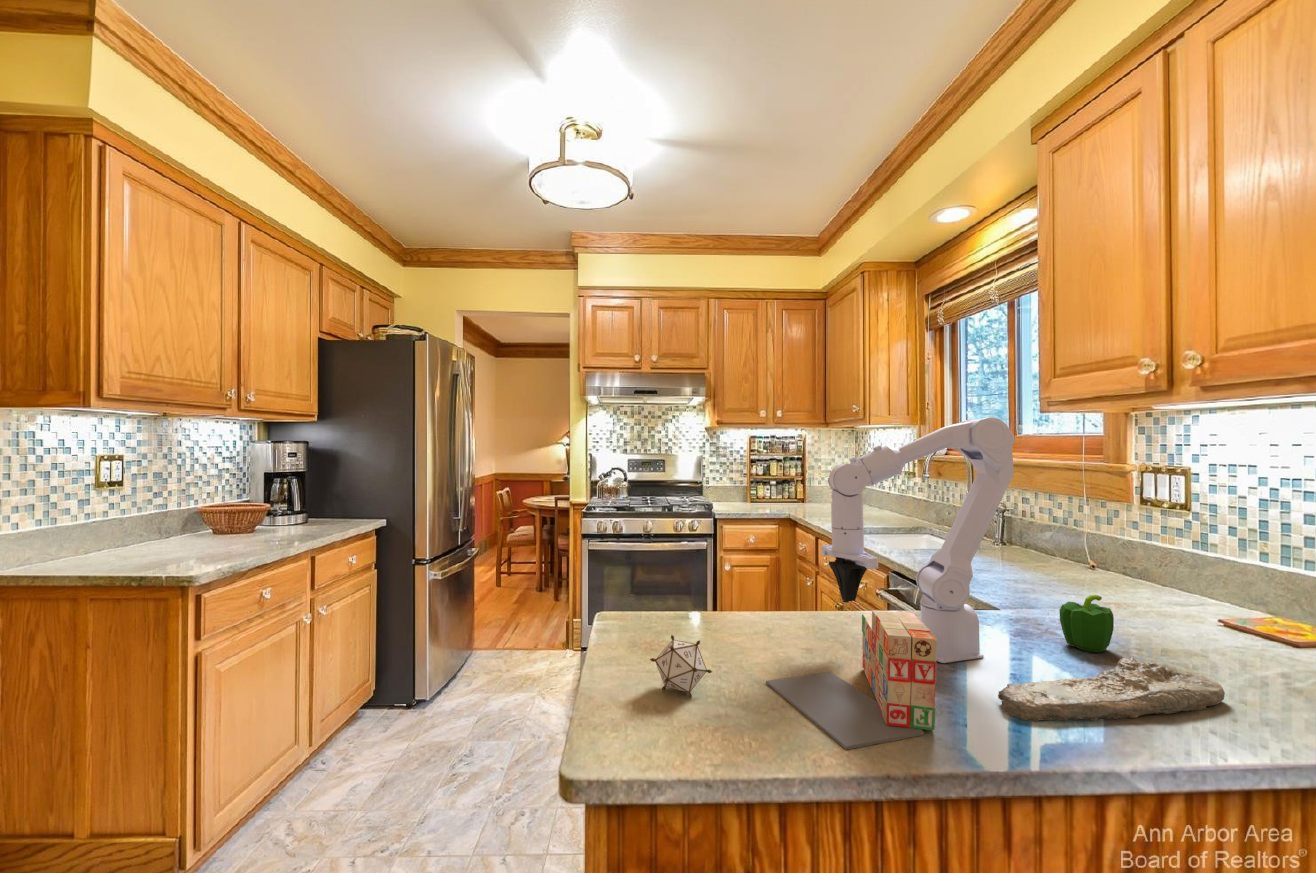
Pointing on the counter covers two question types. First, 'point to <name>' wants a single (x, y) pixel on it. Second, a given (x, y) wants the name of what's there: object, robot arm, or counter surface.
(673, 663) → the game die
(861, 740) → the mat
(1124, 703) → the long grey stone
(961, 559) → the robot arm
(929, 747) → the counter surface
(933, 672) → the stack of blocks
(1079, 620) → the bell pepper
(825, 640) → the counter surface
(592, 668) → the counter surface
